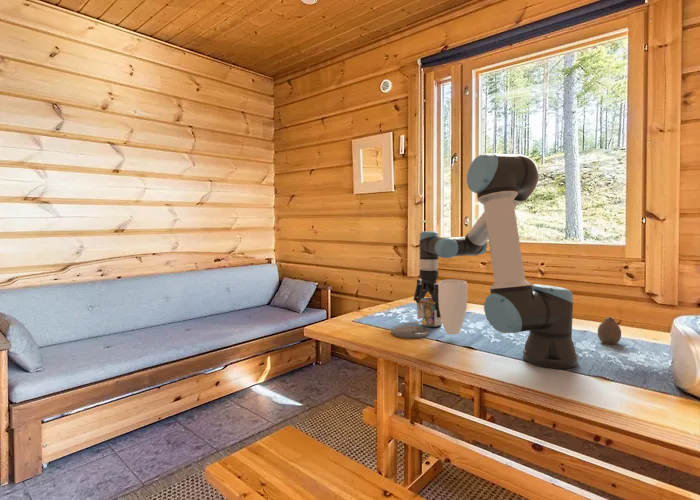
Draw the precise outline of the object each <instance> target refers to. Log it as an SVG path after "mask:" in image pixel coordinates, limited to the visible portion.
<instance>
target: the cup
mask: <svg viewBox="0 0 700 500" xmlns="http://www.w3.org/2000/svg"><path fill="white" fill-rule="evenodd" d="M438 284H439V290H438V300H439V311H440V316H441V321H442V326H443V328H444V331H445V333H446V334H448V335H459V333H460V332H461V330H462V327H463V324H464V321H465V318H466V313H467V308H468V282H467V281H466V280H462V279H453V278H452V279H451V278H449V279H441V280H439V281H438Z"/></svg>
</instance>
